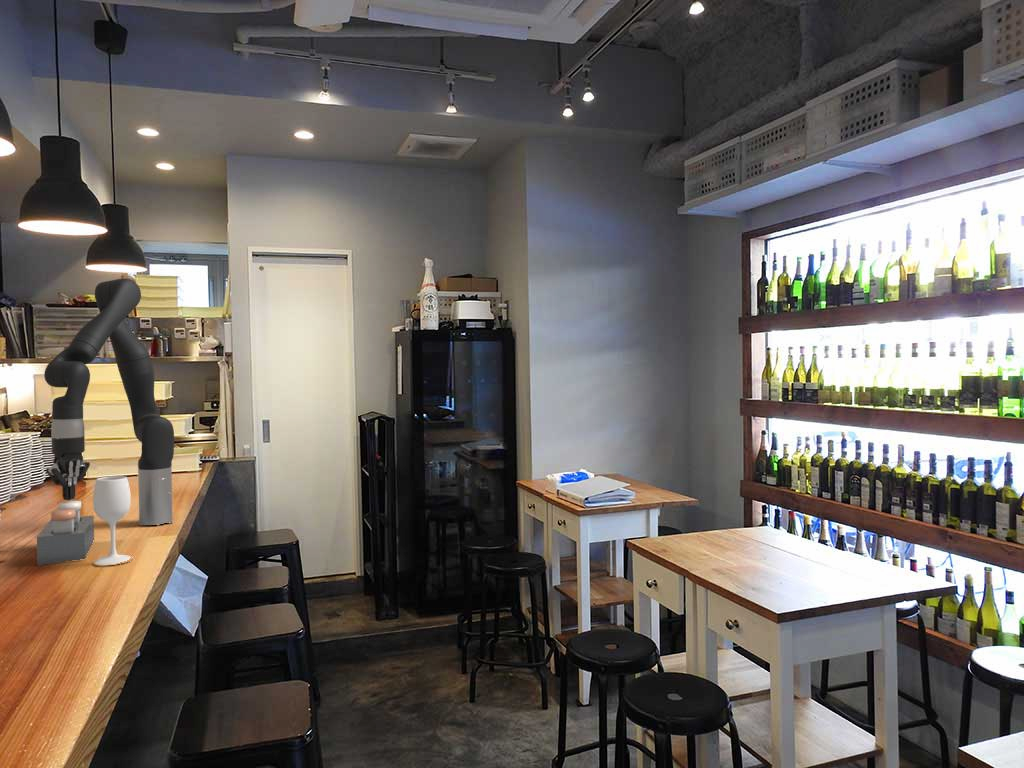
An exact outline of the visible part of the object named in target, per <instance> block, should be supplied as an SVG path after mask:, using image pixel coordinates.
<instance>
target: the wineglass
mask: <svg viewBox="0 0 1024 768" xmlns="http://www.w3.org/2000/svg"><path fill="white" fill-rule="evenodd" d="M128 480H129V479H128V477H127V476H124V475H113V476H112V475H111V476H104V477H98V478H97V479H95V484H94V488H93V495H92V496H93V497H92V505H93V511H94V513H95V515H96V516H97V517H98V518H99V519H100V520H102V521H104V522H106V523H107V524H108V525H109V531H110V550H109V554H108V555H107V556H103V557H101V558H98V559H96V560H95V561H93V563H95V564H99V565H108V564H116V563H120V562H124V561H127V560H129V559H130V558H131V557H132V556H131V557H130V555H127V554H118V552H117V548H116V547H117V546H116V525H117V523H118V522H119V521H120V520H122V519H123V518H125V516H126V515H127V514H128V512H129V511H130V509H131V503H132V497H131V496H132V495H131V494H132V493H131V489H130V483H129V481H128Z"/></svg>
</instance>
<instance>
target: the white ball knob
mask: <svg viewBox="0 0 1024 768" xmlns="http://www.w3.org/2000/svg"><path fill="white" fill-rule="evenodd" d="M62 509H75V512H76V518H75V519H74V522H80V517H81V510H82V501H81V500H64V501H61V502H59V503H58V510H62Z"/></svg>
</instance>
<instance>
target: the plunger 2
mask: <svg viewBox="0 0 1024 768" xmlns="http://www.w3.org/2000/svg"><path fill="white" fill-rule="evenodd" d="M50 515H51V516H50V520H52V521H53V534H54V533H66V532H74V519H75V518H76V512H75V509H62V510H59V509H57V510H53V511H51V512H50Z"/></svg>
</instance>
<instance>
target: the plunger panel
mask: <svg viewBox="0 0 1024 768" xmlns="http://www.w3.org/2000/svg"><path fill="white" fill-rule="evenodd" d="M94 520H95V516H94V515H84V516H80V522H74V532H66V533H54V534H53V521H52V520H51V519H50V520H49V521H48V523H47V524H46V525H45V527H44V528H42V530H41V531H40V533H38V535H37V536H36V553H37V554H36V558H37V559H36V560H37V561H36V563H37V566H46V564H47V565H53V564H52V563H57V564H61V563H60V562H66V561H72V560H80V559H85V558H86V559H87V557H86V555H87V553H88V551H89V549H90V547H91V548H92V546H93V544H94V542H93V540H94V541H95V521H94ZM92 543H93V544H92ZM91 545H92V546H91ZM90 550H91V549H90ZM89 552H90V551H89ZM88 554H89V553H88ZM87 556H88V555H87ZM86 559H85V560H86ZM66 563H67V562H66Z"/></svg>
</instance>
